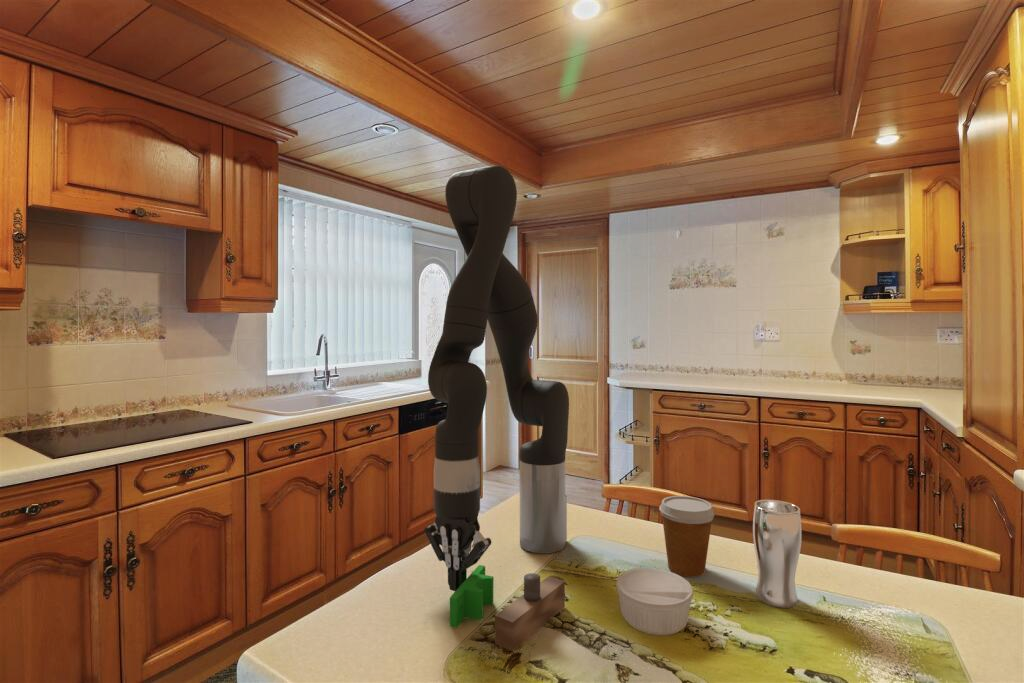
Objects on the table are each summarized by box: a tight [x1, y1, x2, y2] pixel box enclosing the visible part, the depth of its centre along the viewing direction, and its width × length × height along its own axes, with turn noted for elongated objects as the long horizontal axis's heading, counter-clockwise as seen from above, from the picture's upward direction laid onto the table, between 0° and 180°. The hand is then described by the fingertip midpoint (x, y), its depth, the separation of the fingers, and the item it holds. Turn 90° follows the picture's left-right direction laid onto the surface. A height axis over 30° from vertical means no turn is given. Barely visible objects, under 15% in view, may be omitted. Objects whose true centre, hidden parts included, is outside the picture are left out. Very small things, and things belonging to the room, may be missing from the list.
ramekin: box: [615, 567, 694, 636], centre depth 78 cm, size 11×11×5 cm
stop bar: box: [494, 573, 566, 652], centre depth 76 cm, size 14×3×7 cm, turn 144°
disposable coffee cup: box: [658, 495, 716, 578], centre depth 94 cm, size 10×10×12 cm
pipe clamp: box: [449, 564, 495, 629], centre depth 81 cm, size 11×4×5 cm, turn 161°
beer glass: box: [752, 499, 803, 609], centre depth 84 cm, size 7×7×15 cm
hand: (457, 589), depth 85 cm, fingers closed
